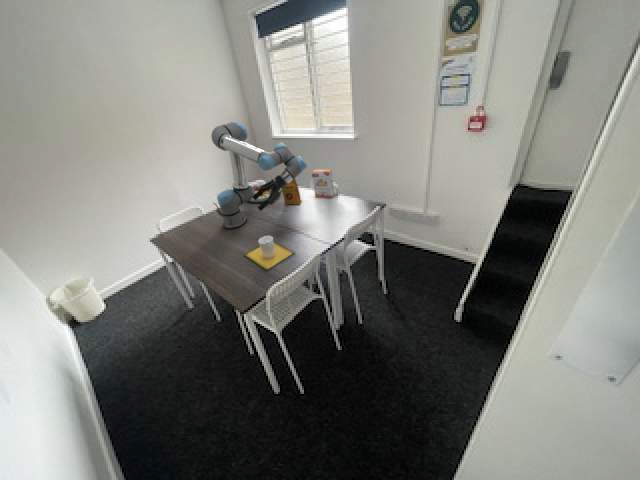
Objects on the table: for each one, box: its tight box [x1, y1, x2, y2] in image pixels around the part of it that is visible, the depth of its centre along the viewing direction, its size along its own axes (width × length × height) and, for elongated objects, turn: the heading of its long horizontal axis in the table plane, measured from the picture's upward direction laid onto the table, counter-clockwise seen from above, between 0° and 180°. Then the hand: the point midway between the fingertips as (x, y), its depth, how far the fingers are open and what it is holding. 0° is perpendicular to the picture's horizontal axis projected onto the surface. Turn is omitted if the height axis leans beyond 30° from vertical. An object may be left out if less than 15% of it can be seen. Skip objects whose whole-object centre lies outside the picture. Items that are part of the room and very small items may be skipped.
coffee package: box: [281, 177, 302, 205], centre depth 197 cm, size 10×12×22 cm
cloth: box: [244, 242, 294, 271], centre depth 146 cm, size 22×18×1 cm
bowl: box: [248, 184, 282, 203], centre depth 221 cm, size 30×30×8 cm
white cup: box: [257, 235, 276, 258], centre depth 143 cm, size 8×8×10 cm
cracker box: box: [311, 169, 335, 199], centre depth 199 cm, size 14×6×21 cm, turn 68°
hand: (256, 203), depth 151 cm, fingers open, 13 cm apart
